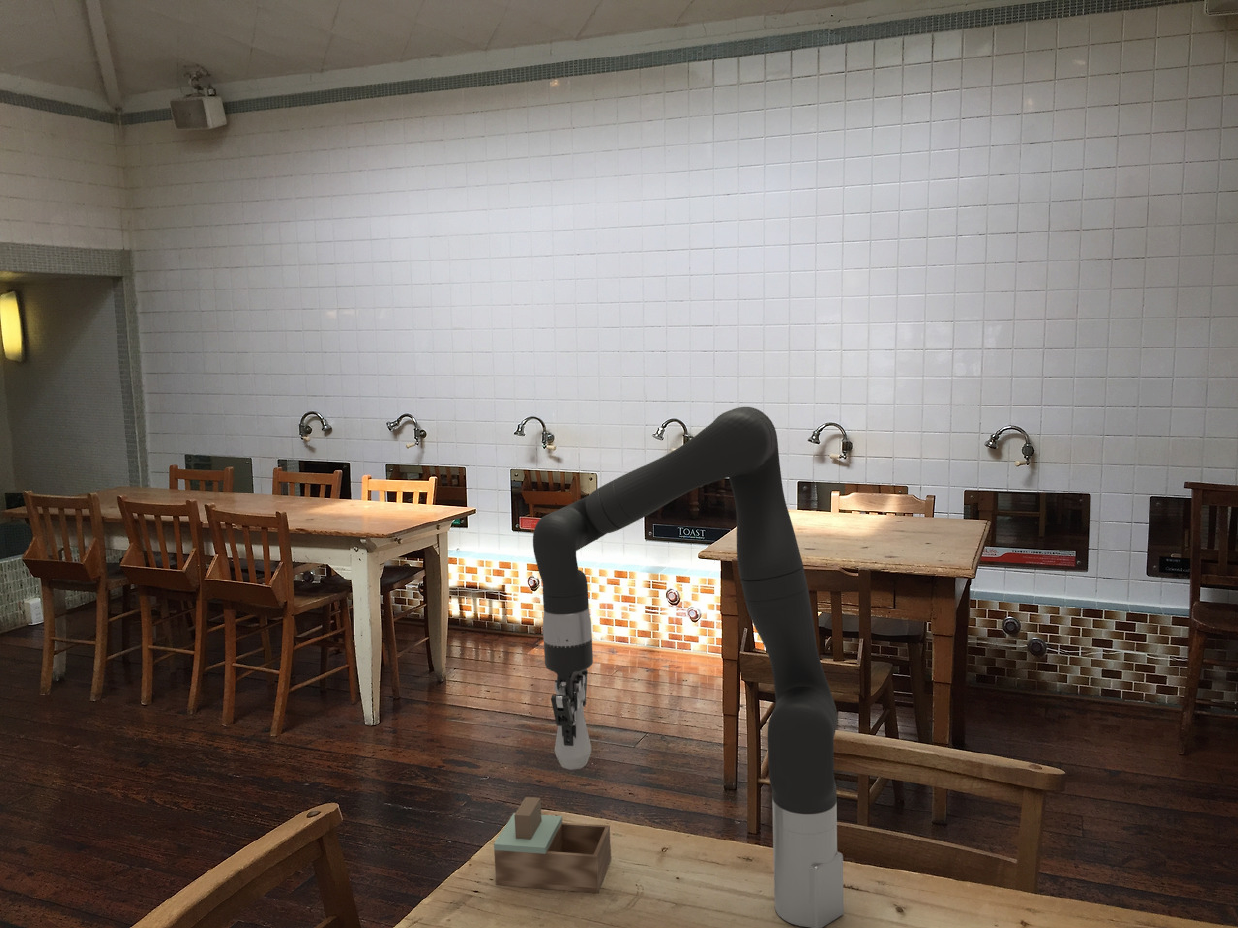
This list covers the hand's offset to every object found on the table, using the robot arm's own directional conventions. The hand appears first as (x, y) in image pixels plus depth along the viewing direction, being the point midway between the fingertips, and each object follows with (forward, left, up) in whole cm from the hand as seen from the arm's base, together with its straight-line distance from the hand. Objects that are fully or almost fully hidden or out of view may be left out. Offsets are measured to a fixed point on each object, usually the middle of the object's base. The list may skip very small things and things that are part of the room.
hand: (573, 741), depth 148 cm
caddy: (+3, +3, -22) cm, 23 cm away
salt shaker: (0, 0, -4) cm, 4 cm away
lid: (+6, +5, -16) cm, 18 cm away
